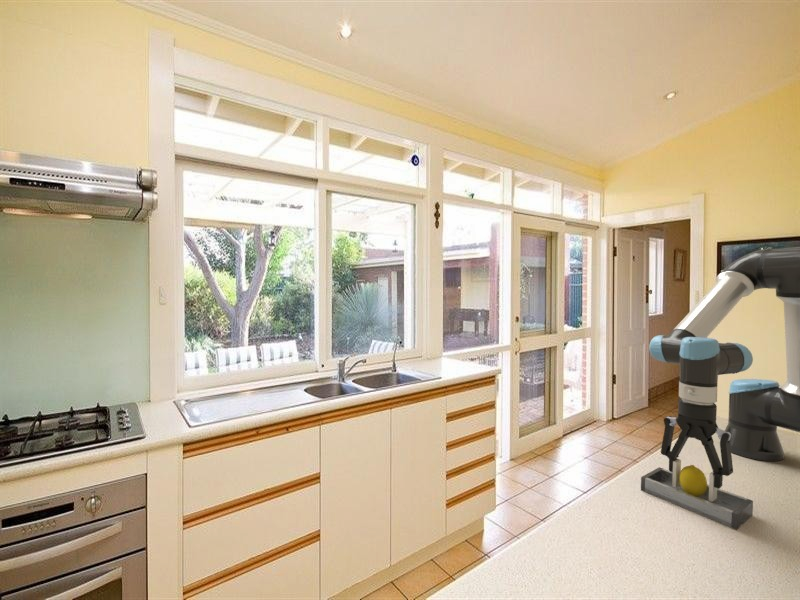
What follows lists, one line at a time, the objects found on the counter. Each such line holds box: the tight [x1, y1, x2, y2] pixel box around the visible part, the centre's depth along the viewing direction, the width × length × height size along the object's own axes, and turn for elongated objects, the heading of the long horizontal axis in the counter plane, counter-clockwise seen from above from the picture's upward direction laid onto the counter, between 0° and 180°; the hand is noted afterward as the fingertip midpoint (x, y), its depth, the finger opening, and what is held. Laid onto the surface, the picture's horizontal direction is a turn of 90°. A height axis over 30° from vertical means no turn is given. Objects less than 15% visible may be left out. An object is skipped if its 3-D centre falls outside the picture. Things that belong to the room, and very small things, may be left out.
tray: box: [640, 467, 754, 531], centre depth 98 cm, size 10×20×4 cm, turn 33°
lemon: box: [679, 464, 708, 497], centre depth 98 cm, size 6×6×8 cm
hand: (693, 492), depth 98 cm, fingers open, 7 cm apart
